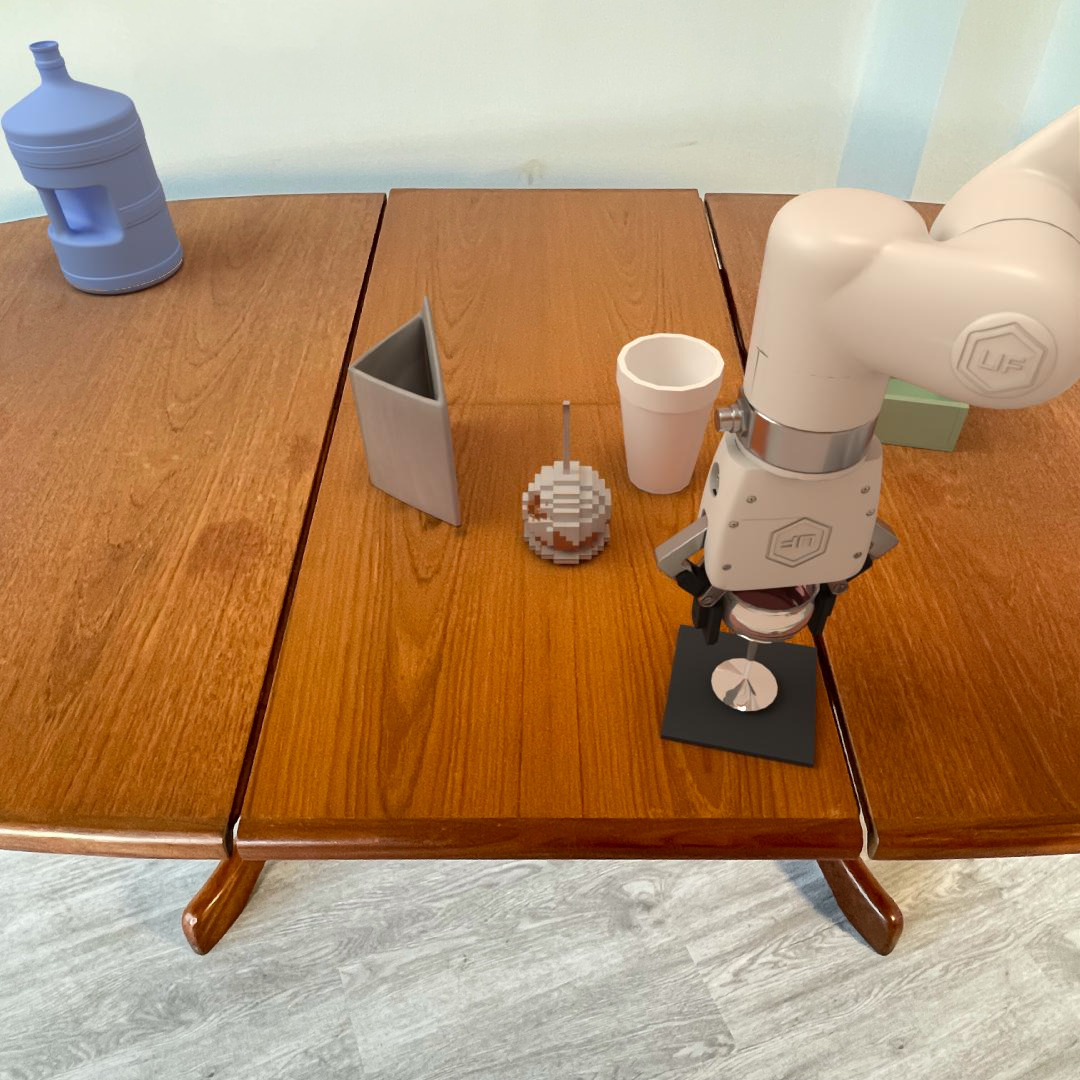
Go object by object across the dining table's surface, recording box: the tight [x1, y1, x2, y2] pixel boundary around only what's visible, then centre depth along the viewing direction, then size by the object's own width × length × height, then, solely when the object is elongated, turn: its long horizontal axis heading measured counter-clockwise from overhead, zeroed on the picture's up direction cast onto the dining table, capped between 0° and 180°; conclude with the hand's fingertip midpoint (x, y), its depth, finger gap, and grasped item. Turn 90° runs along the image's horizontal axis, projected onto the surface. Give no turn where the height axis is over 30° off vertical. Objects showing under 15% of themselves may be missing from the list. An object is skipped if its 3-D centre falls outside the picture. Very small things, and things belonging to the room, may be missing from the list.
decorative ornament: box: [521, 400, 612, 565], centre depth 76 cm, size 8×8×15 cm
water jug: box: [0, 40, 184, 295], centre depth 112 cm, size 16×16×28 cm
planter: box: [347, 295, 462, 527], centre depth 81 cm, size 16×8×19 cm, turn 12°
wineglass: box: [711, 583, 820, 711], centre depth 63 cm, size 7×7×12 cm
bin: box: [874, 376, 970, 453], centre depth 92 cm, size 13×13×5 cm
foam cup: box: [615, 332, 726, 495], centre depth 83 cm, size 10×9×13 cm
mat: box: [660, 624, 818, 768], centre depth 68 cm, size 11×11×1 cm
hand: (758, 623), depth 62 cm, fingers closed on wineglass, 6 cm apart
